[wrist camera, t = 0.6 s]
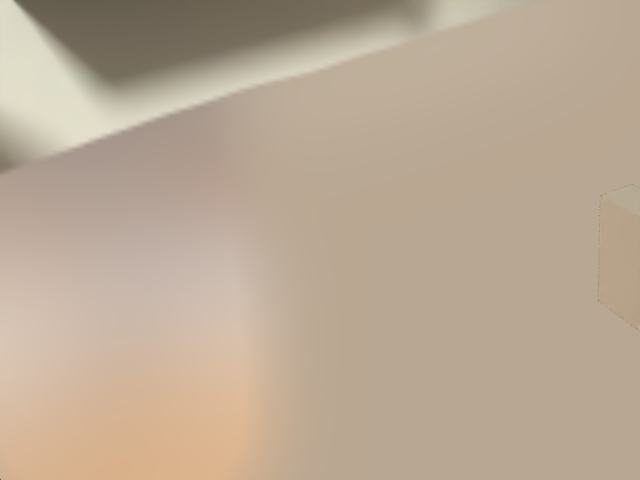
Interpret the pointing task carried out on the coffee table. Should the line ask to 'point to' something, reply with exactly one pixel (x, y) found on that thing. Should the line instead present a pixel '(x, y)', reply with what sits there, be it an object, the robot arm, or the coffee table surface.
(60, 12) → the coffee table surface
